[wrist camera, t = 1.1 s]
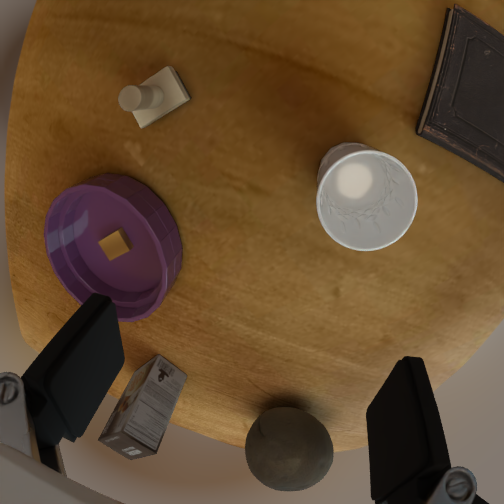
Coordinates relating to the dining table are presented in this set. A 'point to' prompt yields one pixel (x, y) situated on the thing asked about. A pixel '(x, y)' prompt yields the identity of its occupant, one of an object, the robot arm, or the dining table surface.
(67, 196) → the bowl
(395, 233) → the white cup
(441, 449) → the robot arm
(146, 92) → the beige stamp
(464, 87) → the hardcover book
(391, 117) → the dining table surface
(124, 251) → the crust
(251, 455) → the dark grey rounded lump
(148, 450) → the coffee box
